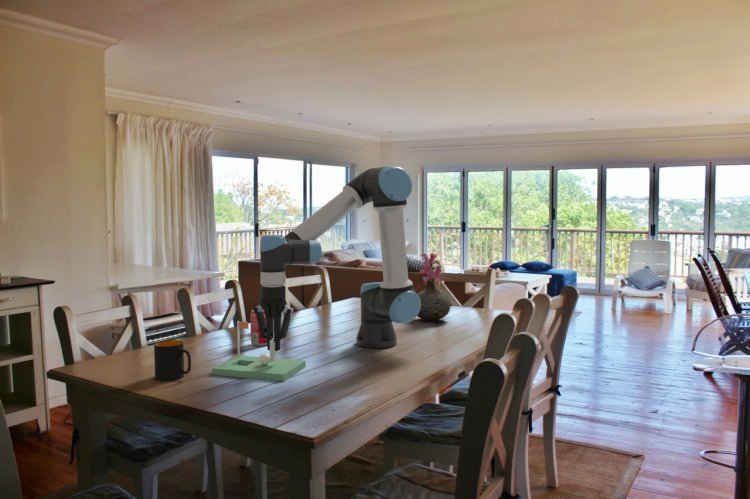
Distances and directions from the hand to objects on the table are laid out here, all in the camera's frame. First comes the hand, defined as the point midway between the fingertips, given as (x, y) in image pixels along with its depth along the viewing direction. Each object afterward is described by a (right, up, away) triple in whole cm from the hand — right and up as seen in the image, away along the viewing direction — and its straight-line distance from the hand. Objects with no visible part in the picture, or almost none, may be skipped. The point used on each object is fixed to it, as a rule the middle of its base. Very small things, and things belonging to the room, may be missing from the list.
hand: (274, 360), depth 180 cm
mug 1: (-29, -4, -6) cm, 30 cm away
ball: (-2, +2, 0) cm, 3 cm away
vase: (+56, +2, +80) cm, 97 cm away
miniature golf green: (-5, -3, +2) cm, 6 cm away
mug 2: (-9, +1, +58) cm, 59 cm away
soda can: (-11, -1, +36) cm, 38 cm away
